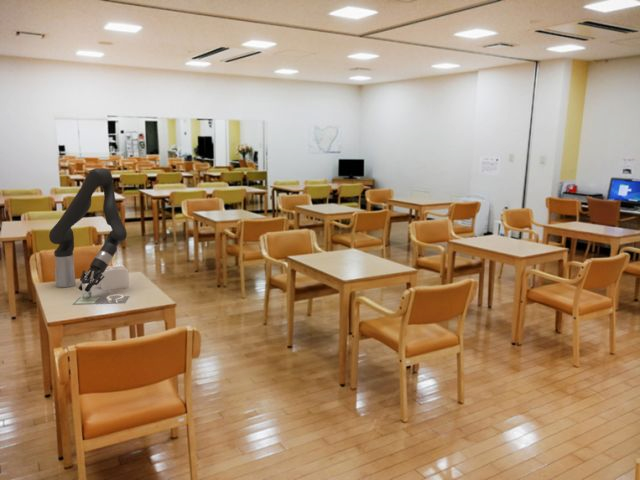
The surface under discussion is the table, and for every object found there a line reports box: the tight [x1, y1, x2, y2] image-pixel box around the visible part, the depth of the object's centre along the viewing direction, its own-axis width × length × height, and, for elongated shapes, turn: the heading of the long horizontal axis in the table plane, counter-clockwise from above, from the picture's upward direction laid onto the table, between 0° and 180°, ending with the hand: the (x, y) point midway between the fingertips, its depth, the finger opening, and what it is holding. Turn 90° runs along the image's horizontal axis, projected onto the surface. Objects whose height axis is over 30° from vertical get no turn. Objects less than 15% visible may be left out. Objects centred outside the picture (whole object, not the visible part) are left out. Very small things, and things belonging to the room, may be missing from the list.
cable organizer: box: [96, 264, 130, 291], centre depth 294 cm, size 15×11×12 cm
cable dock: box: [71, 294, 131, 306], centre depth 270 cm, size 25×12×3 cm, turn 97°
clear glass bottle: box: [80, 277, 93, 299], centre depth 268 cm, size 4×4×10 cm
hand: (83, 290), depth 267 cm, fingers closed on clear glass bottle, 4 cm apart
